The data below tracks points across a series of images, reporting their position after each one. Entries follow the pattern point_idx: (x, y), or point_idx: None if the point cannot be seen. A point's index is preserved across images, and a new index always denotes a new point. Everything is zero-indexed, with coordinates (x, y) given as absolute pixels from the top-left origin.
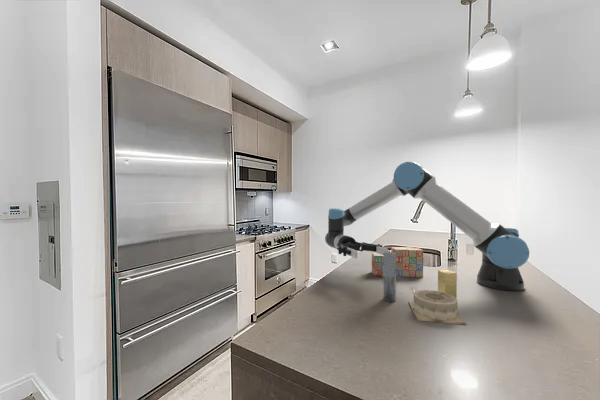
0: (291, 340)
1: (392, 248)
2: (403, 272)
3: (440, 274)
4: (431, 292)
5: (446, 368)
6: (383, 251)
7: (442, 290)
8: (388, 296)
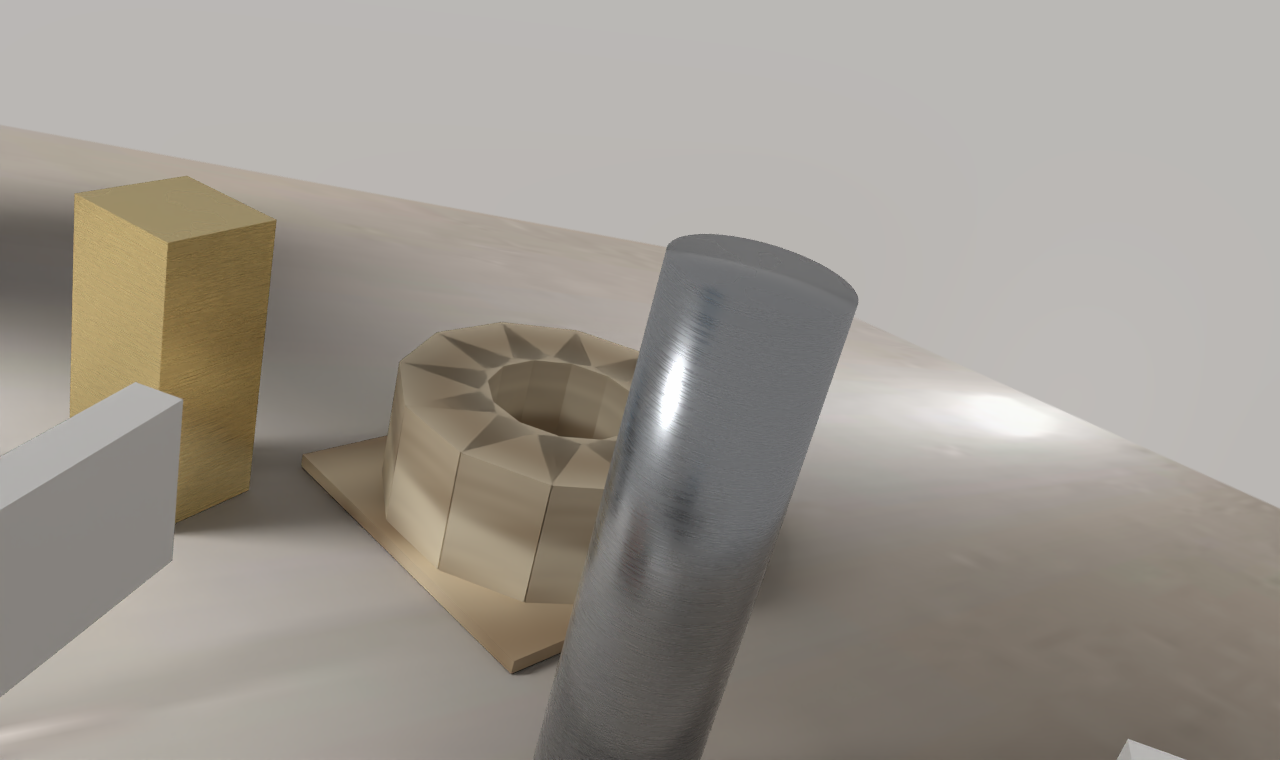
0: None
1: None
2: None
3: (205, 268)
4: (486, 415)
5: (1019, 445)
6: (87, 540)
7: (226, 405)
8: None
